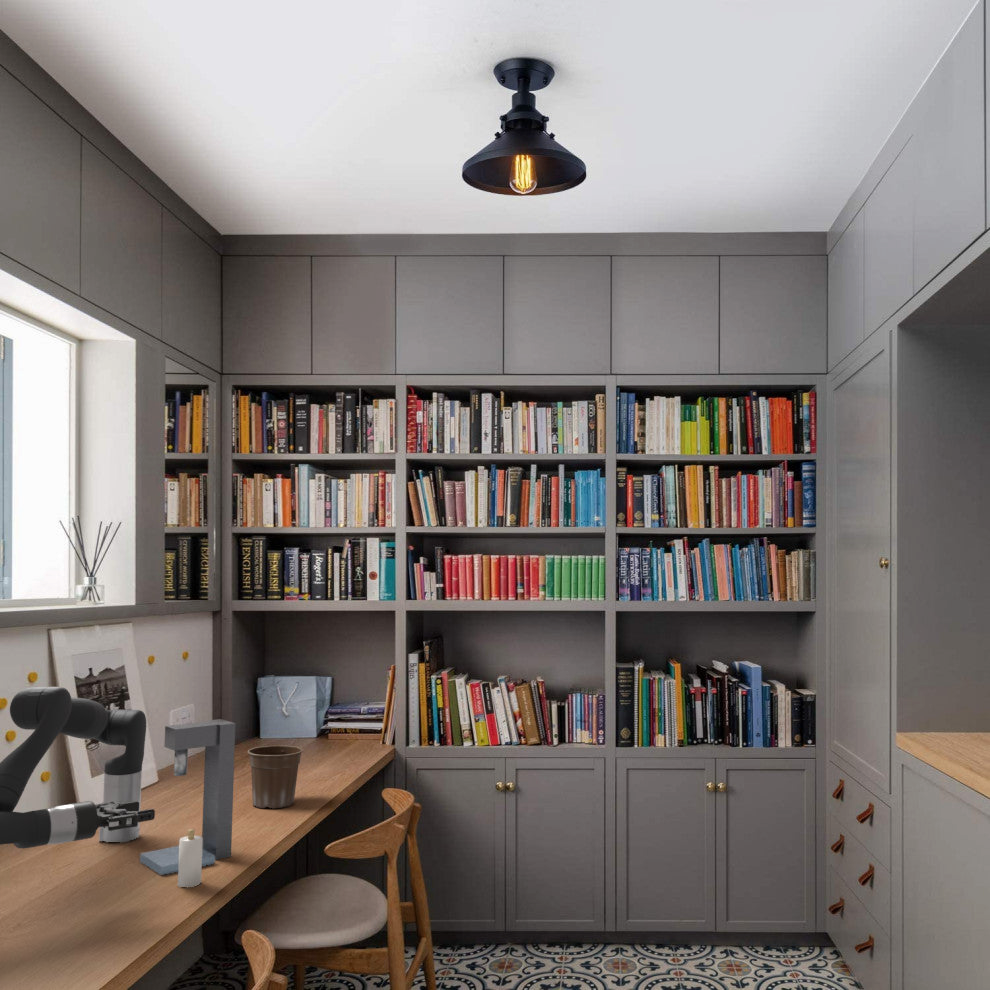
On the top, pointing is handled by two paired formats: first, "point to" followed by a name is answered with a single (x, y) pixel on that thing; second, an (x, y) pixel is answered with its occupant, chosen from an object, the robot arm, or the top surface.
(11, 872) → the top surface
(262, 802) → the plant pot
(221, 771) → the press
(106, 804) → the robot arm
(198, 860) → the white cylinder
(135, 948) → the top surface
